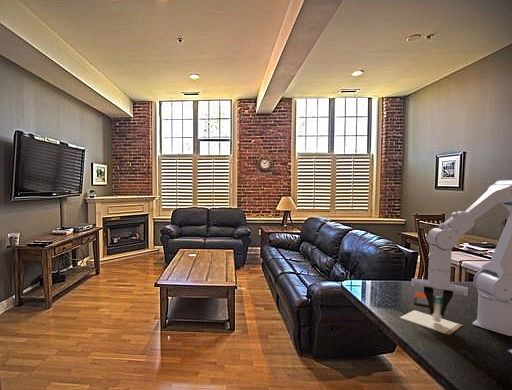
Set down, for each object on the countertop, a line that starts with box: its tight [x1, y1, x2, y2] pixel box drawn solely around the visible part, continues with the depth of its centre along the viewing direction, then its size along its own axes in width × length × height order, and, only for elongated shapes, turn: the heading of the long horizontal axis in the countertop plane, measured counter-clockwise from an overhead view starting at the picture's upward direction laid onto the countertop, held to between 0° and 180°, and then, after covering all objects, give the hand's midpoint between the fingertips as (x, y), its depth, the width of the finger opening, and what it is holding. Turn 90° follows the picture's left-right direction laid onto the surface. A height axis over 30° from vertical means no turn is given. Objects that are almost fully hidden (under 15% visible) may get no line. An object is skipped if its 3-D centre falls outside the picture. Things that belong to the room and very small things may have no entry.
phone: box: [413, 291, 435, 309], centre depth 118 cm, size 6×1×15 cm
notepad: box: [399, 309, 463, 336], centre depth 98 cm, size 14×10×1 cm
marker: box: [432, 295, 443, 322], centre depth 97 cm, size 2×2×7 cm
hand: (437, 314), depth 97 cm, fingers closed on marker, 2 cm apart
